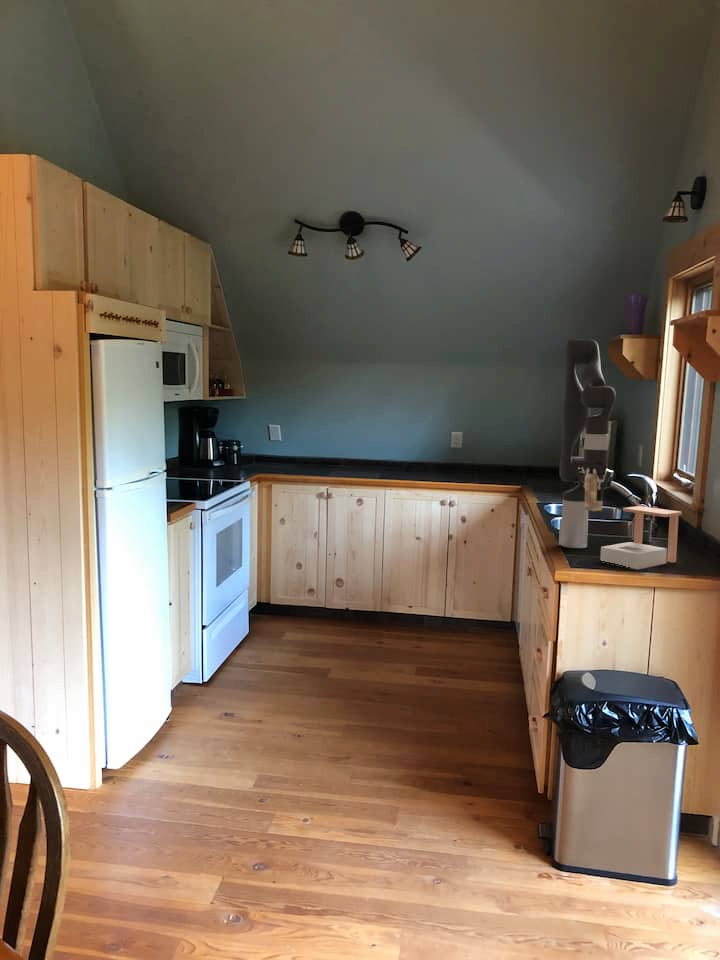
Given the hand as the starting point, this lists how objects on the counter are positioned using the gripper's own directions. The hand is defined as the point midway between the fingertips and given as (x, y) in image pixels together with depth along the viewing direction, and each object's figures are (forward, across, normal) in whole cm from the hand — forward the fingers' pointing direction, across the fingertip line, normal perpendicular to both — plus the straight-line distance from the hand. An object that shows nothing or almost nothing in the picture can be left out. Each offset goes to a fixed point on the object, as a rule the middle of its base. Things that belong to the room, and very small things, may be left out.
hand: (593, 499), depth 241 cm
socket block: (+21, +7, +13) cm, 26 cm away
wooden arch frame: (+21, +7, +22) cm, 31 cm away
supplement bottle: (+21, -14, +48) cm, 55 cm away
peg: (+3, 0, 0) cm, 3 cm away
